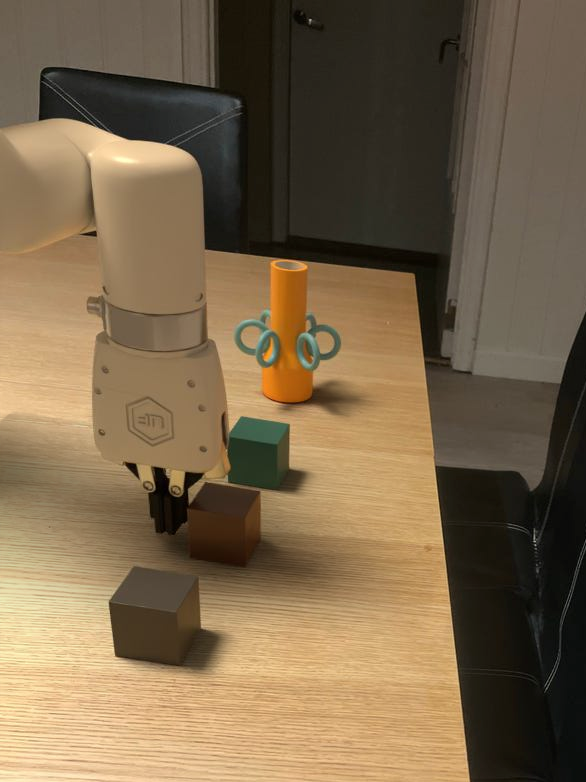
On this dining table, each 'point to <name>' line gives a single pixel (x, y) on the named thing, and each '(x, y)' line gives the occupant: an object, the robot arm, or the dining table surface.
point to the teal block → (258, 452)
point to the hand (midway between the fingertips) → (170, 526)
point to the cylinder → (287, 336)
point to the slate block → (155, 615)
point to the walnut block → (224, 524)
